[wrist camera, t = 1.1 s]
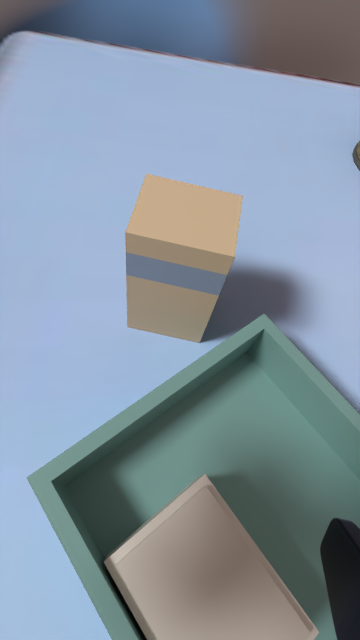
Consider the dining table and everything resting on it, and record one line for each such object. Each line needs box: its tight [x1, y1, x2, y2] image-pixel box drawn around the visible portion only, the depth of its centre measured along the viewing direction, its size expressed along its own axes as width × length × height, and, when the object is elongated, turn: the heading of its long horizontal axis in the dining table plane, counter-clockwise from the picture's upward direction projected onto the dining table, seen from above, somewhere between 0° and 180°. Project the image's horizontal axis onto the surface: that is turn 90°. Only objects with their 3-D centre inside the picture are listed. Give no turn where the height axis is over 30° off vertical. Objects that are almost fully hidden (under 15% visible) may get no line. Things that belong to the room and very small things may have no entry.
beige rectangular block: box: [104, 474, 319, 640], centre depth 16 cm, size 6×8×3 cm
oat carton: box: [126, 174, 243, 343], centre depth 22 cm, size 4×6×10 cm
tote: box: [27, 314, 360, 640], centre depth 18 cm, size 16×18×4 cm
